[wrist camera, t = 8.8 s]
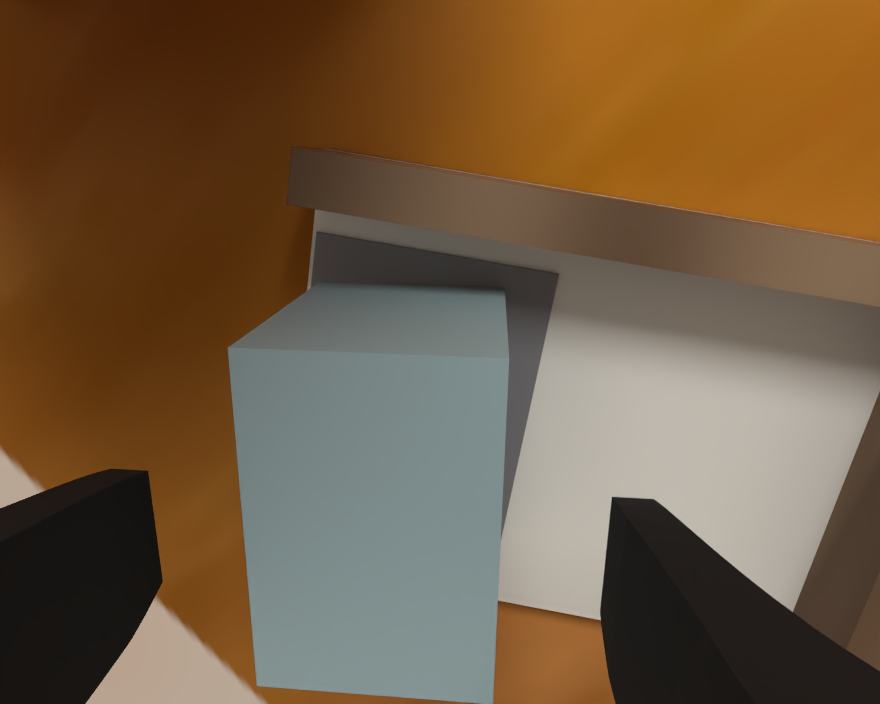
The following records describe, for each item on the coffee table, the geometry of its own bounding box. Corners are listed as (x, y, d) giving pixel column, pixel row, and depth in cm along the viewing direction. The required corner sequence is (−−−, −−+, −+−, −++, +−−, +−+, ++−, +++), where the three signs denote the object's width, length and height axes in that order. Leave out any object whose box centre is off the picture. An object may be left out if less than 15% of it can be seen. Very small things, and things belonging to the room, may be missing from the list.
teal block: (493, 534, 15) (492, 704, 11) (329, 525, 16) (257, 686, 11) (504, 287, 14) (508, 358, 9) (319, 281, 14) (228, 347, 9)
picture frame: (967, 257, 13) (1071, 279, 11) (807, 646, 16) (860, 730, 14) (327, 148, 14) (292, 147, 11) (286, 547, 17) (251, 612, 14)
